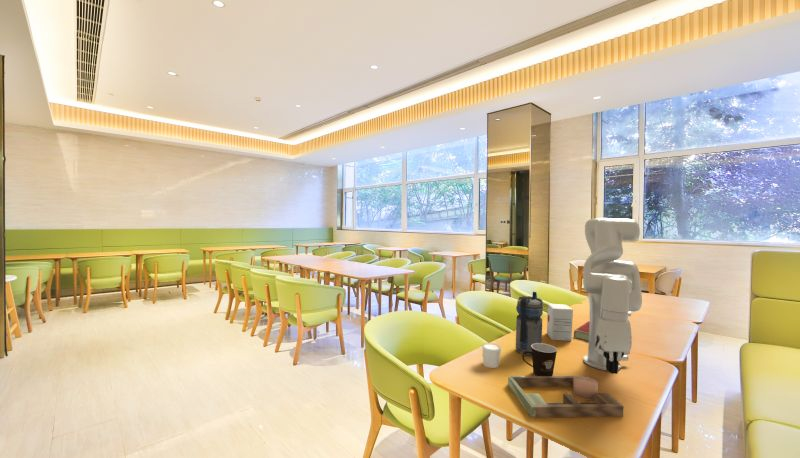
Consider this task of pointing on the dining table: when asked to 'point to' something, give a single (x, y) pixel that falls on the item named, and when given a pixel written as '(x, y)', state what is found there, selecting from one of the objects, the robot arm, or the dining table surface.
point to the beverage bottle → (528, 323)
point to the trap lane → (570, 405)
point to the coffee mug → (542, 359)
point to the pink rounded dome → (585, 387)
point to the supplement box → (559, 322)
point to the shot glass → (491, 355)
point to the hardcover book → (582, 331)
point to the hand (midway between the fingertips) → (611, 371)
